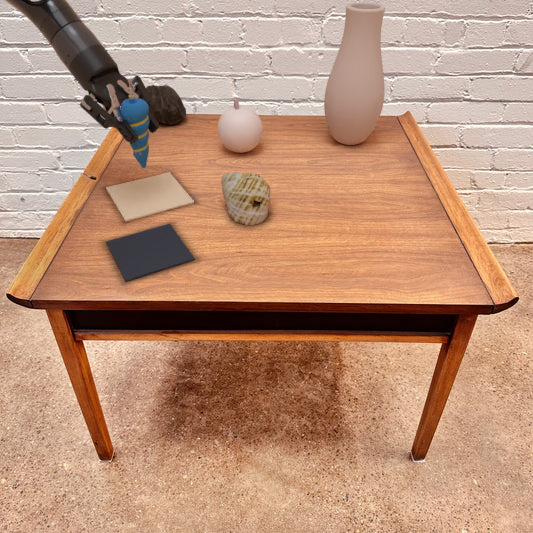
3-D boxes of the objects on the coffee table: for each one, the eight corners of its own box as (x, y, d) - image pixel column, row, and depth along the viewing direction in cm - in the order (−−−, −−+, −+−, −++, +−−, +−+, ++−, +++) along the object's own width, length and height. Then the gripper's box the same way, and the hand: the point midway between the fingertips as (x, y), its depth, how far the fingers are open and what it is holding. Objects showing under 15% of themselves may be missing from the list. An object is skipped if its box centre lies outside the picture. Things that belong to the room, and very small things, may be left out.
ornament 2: (211, 147, 115) (207, 98, 108) (246, 137, 120) (245, 89, 112) (234, 164, 109) (233, 112, 101) (270, 152, 114) (271, 102, 106)
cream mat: (125, 221, 90) (125, 220, 90) (106, 188, 100) (105, 187, 100) (194, 203, 96) (194, 201, 96) (169, 173, 105) (169, 171, 105)
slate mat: (125, 282, 77) (125, 280, 77) (106, 243, 85) (105, 241, 85) (194, 260, 82) (194, 258, 81) (170, 225, 90) (169, 223, 90)
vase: (374, 130, 124) (395, 0, 105) (378, 154, 113) (402, 14, 94) (321, 127, 125) (332, -2, 106) (320, 151, 114) (332, 11, 95)
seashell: (265, 227, 88) (240, 180, 84) (226, 235, 94) (201, 191, 89) (287, 199, 95) (265, 154, 90) (249, 207, 101) (227, 165, 96)
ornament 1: (160, 163, 96) (149, 87, 86) (152, 175, 92) (141, 97, 82) (134, 161, 96) (121, 85, 87) (126, 173, 92) (111, 95, 83)
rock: (189, 124, 124) (179, 84, 118) (146, 133, 123) (134, 94, 117) (187, 113, 132) (177, 76, 126) (146, 122, 131) (135, 84, 126)
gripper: (59, 53, 78) (126, 139, 81) (121, 34, 88) (180, 112, 91) (46, 80, 84) (109, 160, 87) (106, 59, 93) (162, 132, 96)
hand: (145, 135), depth 89 cm, fingers closed on ornament 1, 5 cm apart
